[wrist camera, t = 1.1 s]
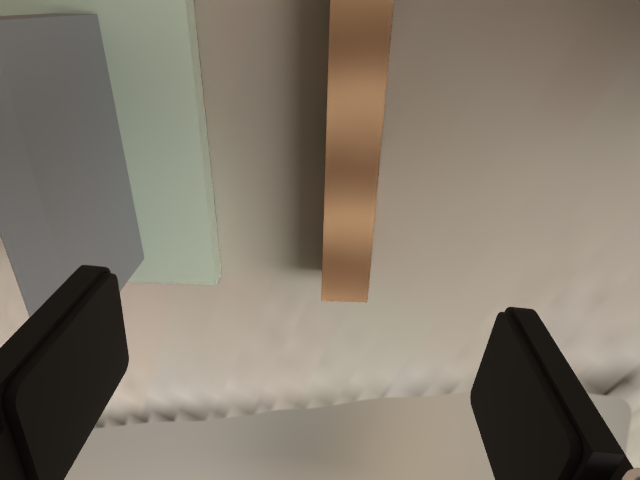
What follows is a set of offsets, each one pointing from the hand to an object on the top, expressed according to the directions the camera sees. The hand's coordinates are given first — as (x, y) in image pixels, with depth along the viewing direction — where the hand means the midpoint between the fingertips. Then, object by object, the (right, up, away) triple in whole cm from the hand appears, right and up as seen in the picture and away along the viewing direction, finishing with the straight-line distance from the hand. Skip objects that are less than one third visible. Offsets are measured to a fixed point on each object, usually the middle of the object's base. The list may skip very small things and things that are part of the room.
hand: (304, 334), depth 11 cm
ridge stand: (-13, +8, +18) cm, 23 cm away
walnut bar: (+2, +8, +18) cm, 19 cm away
